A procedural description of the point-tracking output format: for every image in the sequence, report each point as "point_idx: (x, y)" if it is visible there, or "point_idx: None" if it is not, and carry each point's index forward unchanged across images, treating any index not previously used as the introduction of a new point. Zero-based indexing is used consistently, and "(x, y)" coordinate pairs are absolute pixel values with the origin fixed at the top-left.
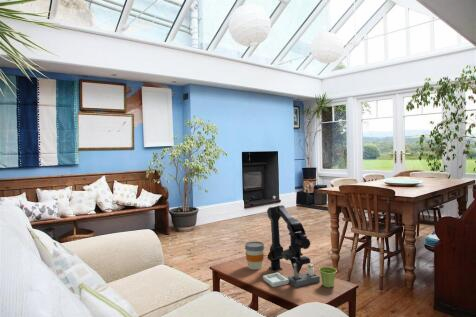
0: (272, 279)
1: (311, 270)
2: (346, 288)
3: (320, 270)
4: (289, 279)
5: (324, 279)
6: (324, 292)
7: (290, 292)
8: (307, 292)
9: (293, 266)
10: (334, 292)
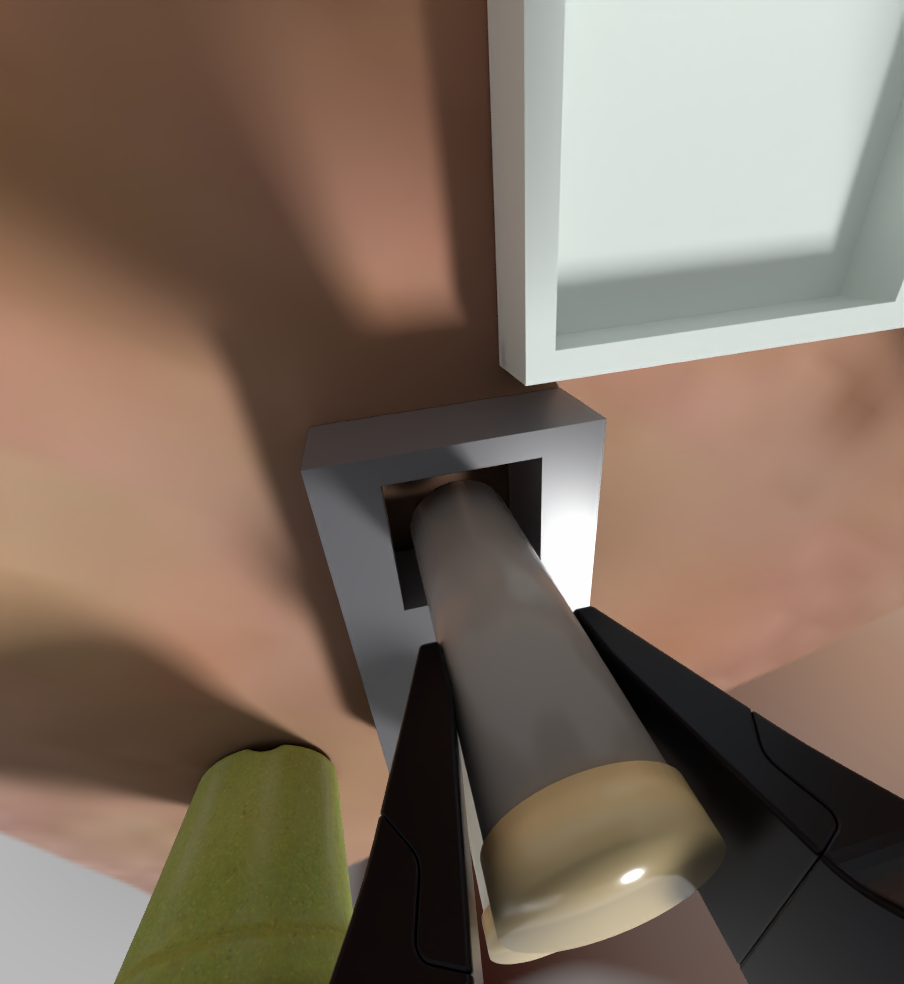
0: (800, 91)
1: (470, 832)
2: (153, 881)
3: (327, 961)
4: (543, 413)
5: (189, 867)
6: (44, 717)
7: (60, 186)
8: (50, 521)
9: (650, 702)
10: (41, 798)
